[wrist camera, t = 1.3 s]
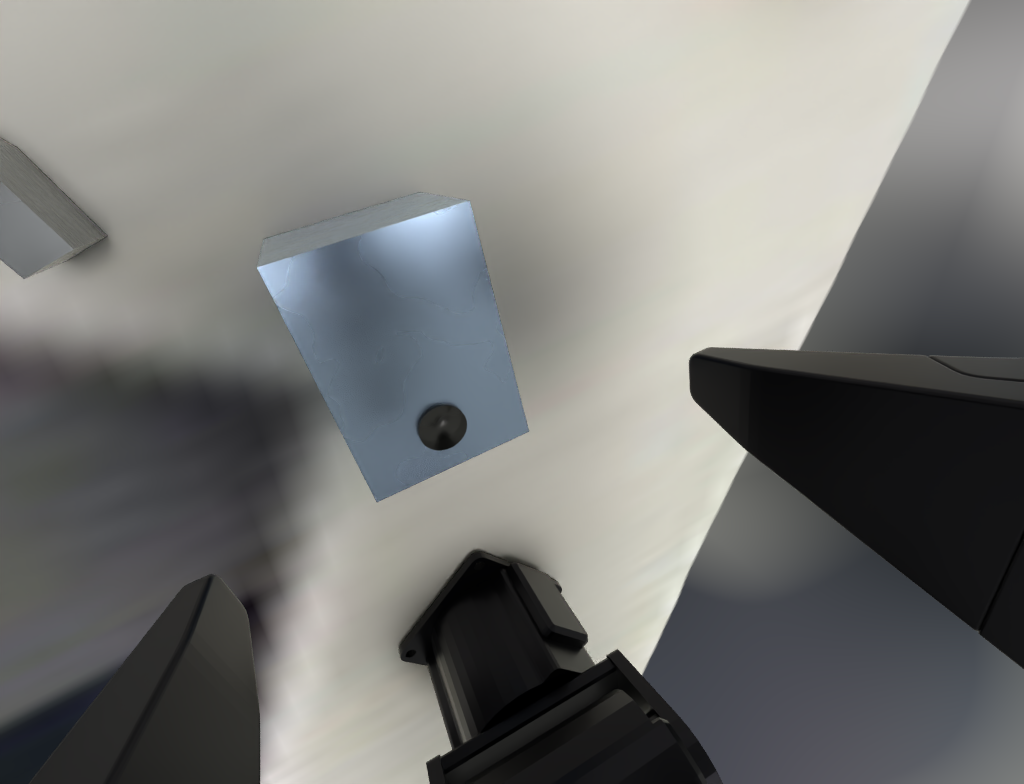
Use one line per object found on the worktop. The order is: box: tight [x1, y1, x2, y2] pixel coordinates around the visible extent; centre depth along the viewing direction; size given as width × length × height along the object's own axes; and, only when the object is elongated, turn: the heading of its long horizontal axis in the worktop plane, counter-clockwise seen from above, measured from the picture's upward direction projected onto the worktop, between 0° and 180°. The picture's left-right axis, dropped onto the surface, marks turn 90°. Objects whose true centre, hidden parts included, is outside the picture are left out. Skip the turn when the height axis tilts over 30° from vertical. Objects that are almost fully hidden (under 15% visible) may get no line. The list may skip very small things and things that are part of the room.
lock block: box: [257, 192, 529, 502], centre depth 14 cm, size 5×7×5 cm
